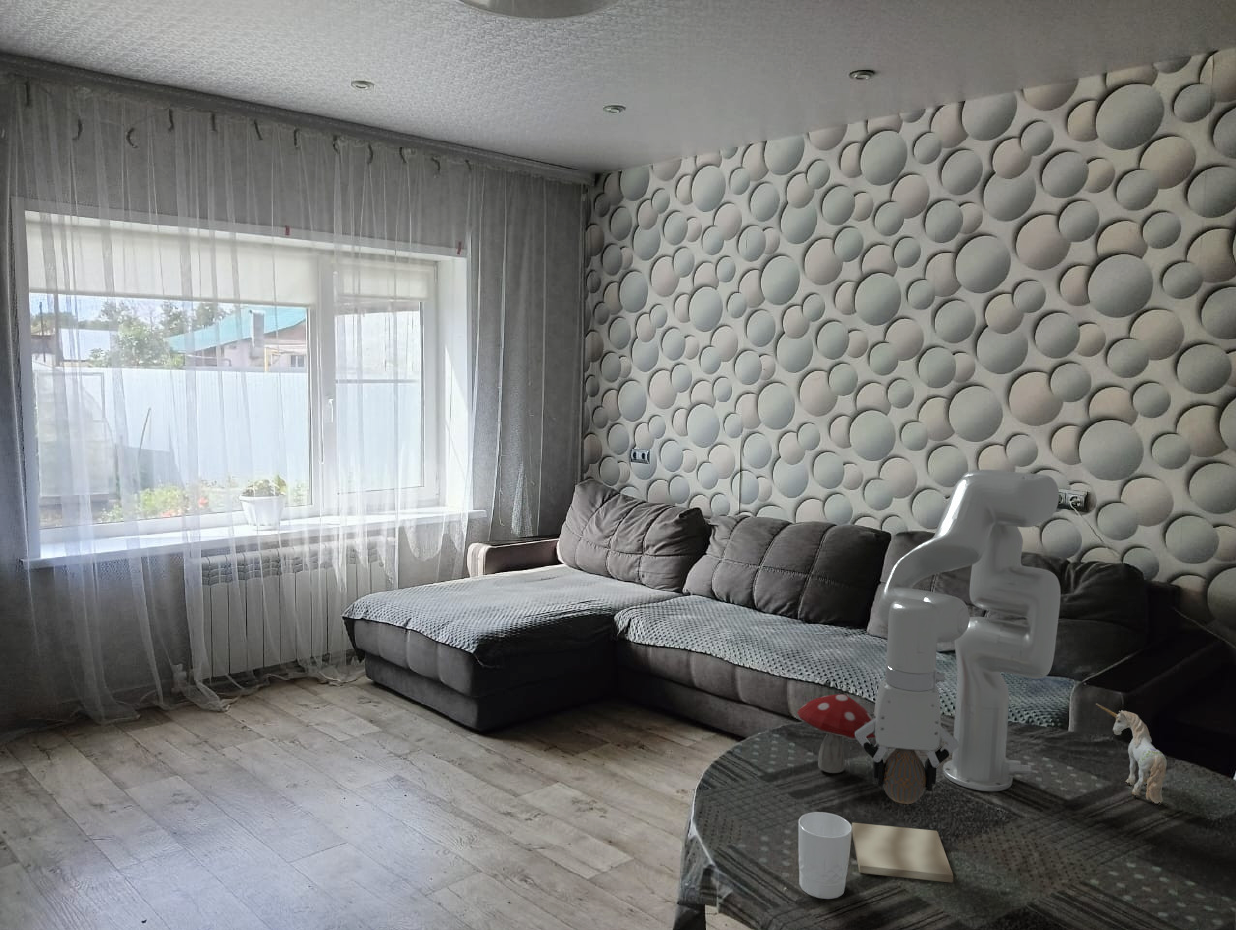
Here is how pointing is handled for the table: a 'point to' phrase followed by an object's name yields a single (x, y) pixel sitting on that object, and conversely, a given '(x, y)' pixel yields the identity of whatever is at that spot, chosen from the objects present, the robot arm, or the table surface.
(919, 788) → the vase
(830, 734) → the decorative mushroom
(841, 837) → the white cup
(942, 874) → the birch pad
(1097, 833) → the table surface
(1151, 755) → the unicorn figurine
